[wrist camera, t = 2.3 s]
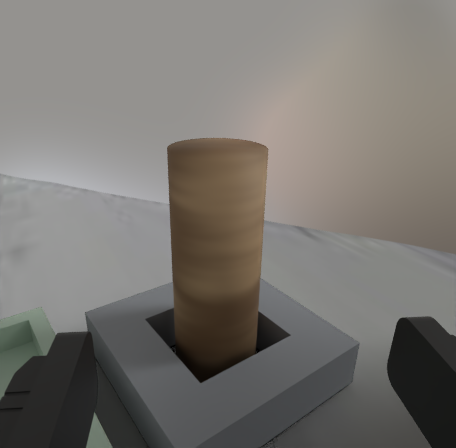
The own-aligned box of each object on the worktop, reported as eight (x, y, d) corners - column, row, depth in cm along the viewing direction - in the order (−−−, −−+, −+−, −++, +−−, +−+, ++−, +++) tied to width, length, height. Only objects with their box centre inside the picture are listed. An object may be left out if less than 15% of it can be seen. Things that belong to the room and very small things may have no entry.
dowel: (271, 372, 24) (289, 151, 19) (204, 410, 22) (203, 165, 16) (224, 329, 28) (228, 135, 23) (162, 358, 25) (149, 144, 20)
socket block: (352, 381, 24) (359, 342, 23) (182, 502, 17) (180, 456, 16) (233, 292, 33) (234, 260, 31) (90, 349, 26) (85, 312, 25)
